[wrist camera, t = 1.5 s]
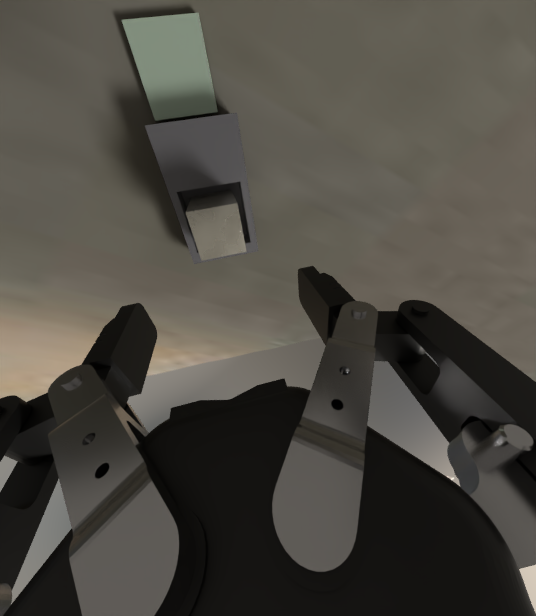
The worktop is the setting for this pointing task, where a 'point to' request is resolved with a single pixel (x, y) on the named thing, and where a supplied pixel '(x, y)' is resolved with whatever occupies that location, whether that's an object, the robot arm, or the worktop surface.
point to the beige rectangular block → (216, 224)
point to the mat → (172, 65)
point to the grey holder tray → (203, 168)
